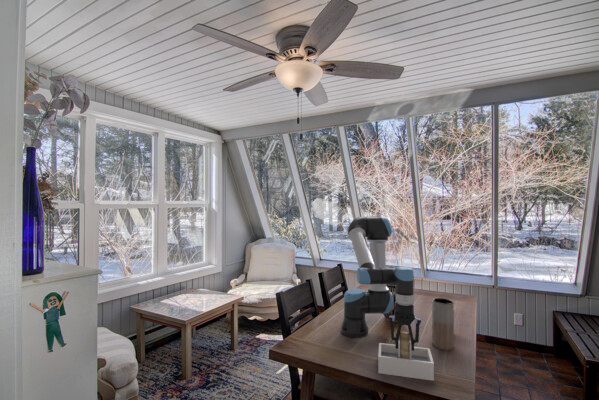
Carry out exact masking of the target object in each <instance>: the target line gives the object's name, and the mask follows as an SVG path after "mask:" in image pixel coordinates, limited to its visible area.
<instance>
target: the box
mask: <svg viewBox="0 0 599 400" xmlns="http://www.w3.org/2000/svg"><path fill="white" fill-rule="evenodd" d="M377 356H378V357H377V359H378V361H377V362H378V363H377V364H378V370H377V371H378V373H377V374H382V375H389V376H397V377H402V378H403V377H404V378H411V379H412V378H413V379H418V380H426V381H432V382H433V381H435V363H434V359H433V355H432V352H431V349H430V348H428V347H420V346H419V347H418V346H414V351H411V359H402V358H399V357H398V349H396V347H395V344H393V343H386V342H385V343H382V342H379V343H378V355H377Z"/></svg>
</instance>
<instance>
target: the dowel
mask: <svg viewBox="0 0 599 400" xmlns="http://www.w3.org/2000/svg"><path fill="white" fill-rule="evenodd" d="M399 340H400V358H402V359H410V358H409V343H410V341H411V339H410V334H409V331H408V332H407V331H400V336H399Z"/></svg>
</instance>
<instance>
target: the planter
mask: <svg viewBox="0 0 599 400" xmlns="http://www.w3.org/2000/svg"><path fill="white" fill-rule="evenodd" d="M431 301H432V302H431V306H432V307H431V311H432V313H431V315H432V317H431V321H432V323H431V329H432V330H431V337H432V339H431V340H432V341H431V342H432V345H433V347H435V348H437V349H439V350H444V351H448V350H453V349H454V347H455V342H454V341H455V329H454V328H455V313H454V308H455V305H454V304H455V302H454V301H453V300H451V299H448V298H442V297H436V298H433V299H432V300H431Z"/></svg>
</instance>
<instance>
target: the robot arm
mask: <svg viewBox="0 0 599 400" xmlns="http://www.w3.org/2000/svg"><path fill="white" fill-rule="evenodd" d="M391 236H392V226H391V222H390V220H389V219H388V217H386V216H358V217H356V218H354V219H353V220H352V221H351V222H350V223H349V225H348V227H347V237H348V239H349V241H351V243H352V247H353V251H354V254H355V257H356V261H357V265H358V268H357V269H356V280H357V283H358V284H359V285H367V286H368V285H369V286H368V288H367V291H366V290H365V289H363V288H351V289H347V290H346V291H345V292H344V295H343V319H342V323H341V325H340V333H341V334H343V335H344V336H346V337H349V338H364V337H366V336H369V327H368V323H367V321H366V314H369V315H370V314H373V315H374V314H377V315H378V314H380V315H383V314H389V313H391V311H392V310H393V306H394V295H393V293H392V292H391V291H390V288H389V287H388V286H387V285H394V286H395V313H394V315H389V316H388V320H389V322H390V337H391V341H395V344H394V345H395V347H396V349H398V357H399V358H400V332H402V331H401V330H402V327H403V326H407V328H408V333H409V340H410V343H409V358H410V359H411V351H414V347H415V343H419V340H420V337H419V336H420V325H421V323H422V321H421V318H420V317H416V316H415V312H414V307H415V306H414V299H415V298H414V293H415V292H414V290H415V289H414V285H415V283H414V282H415V275H414V269H413V268H412V267H408V266H396V265H395V266H393V265H390V266H388V267H387V265H386V263H387V262H386V261H387V260H386V258H387V257H386V243H387V242H388V241H389V240H388V239H389V238H390V237H391ZM368 243H369V245H368ZM395 320H396V321H397V323H398V324H397V329H396V334H395V331H394V330H395V329H394V324H395V323H394V322H395ZM413 322H414V323H415V333H414V334H415V335H413V331H412V330H413V329H412V325H411V324H412V323H413Z"/></svg>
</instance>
